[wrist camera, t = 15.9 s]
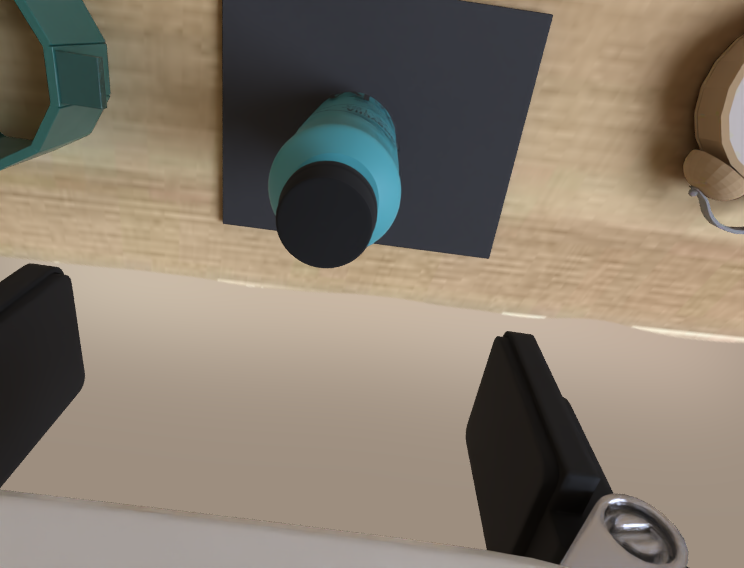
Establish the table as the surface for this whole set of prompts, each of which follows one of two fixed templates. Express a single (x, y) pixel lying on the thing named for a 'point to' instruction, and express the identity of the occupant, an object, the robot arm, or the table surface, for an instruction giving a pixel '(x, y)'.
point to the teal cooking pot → (64, 77)
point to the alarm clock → (719, 135)
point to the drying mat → (386, 102)
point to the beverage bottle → (337, 181)
